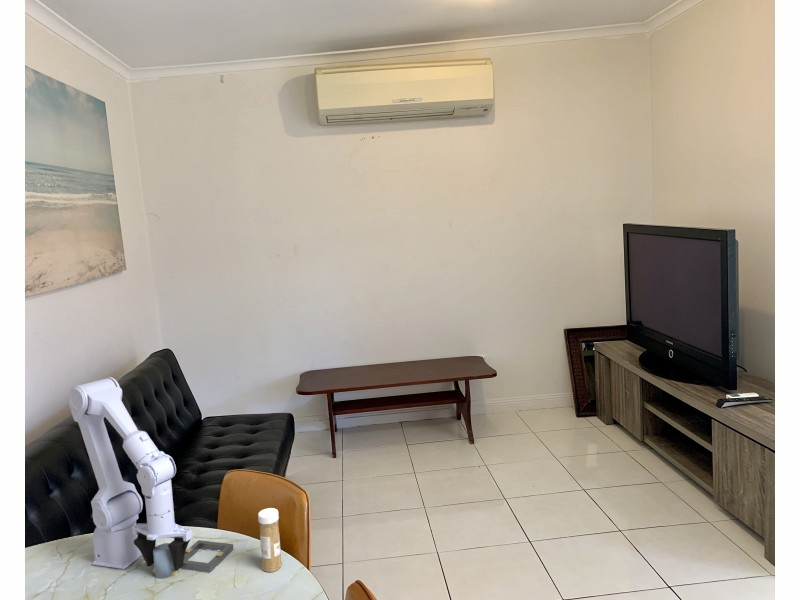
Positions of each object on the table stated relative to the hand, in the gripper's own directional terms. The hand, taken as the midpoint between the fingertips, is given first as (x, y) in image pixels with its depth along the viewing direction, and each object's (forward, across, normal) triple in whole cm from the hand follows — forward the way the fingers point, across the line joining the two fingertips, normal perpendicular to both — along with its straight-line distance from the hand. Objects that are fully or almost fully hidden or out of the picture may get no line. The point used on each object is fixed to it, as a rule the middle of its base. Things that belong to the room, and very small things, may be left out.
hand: (165, 566), depth 130 cm
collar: (+2, +6, +7) cm, 9 cm away
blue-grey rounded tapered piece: (+2, 0, 0) cm, 2 cm away
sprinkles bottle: (+2, +24, +7) cm, 25 cm away
